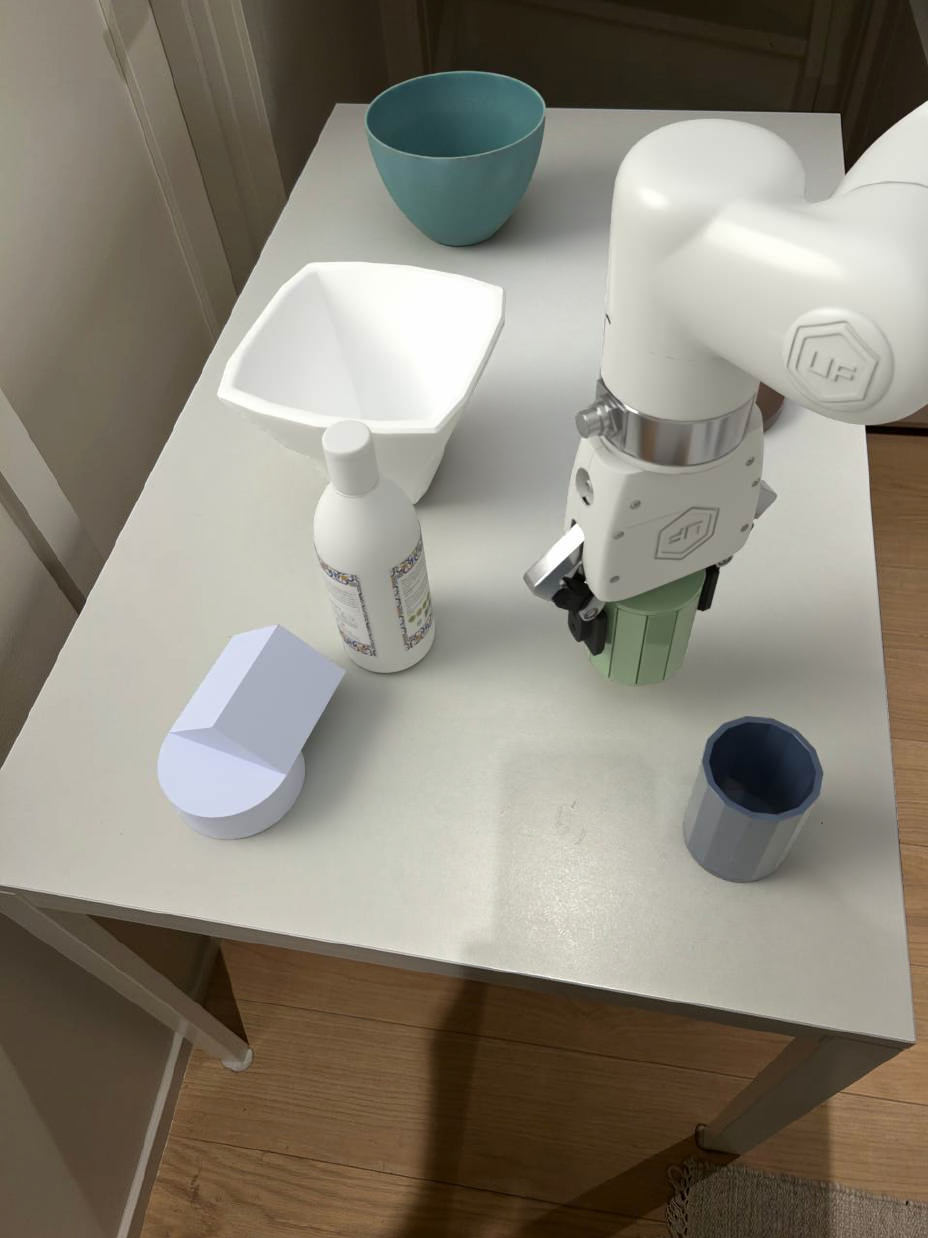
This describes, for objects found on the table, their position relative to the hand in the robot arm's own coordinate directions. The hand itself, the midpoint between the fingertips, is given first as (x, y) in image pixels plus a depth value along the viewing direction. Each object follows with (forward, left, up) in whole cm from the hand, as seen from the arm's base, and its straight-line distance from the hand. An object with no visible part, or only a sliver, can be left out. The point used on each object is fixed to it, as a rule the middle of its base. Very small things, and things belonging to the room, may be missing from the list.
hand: (640, 615), depth 60 cm
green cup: (0, 0, -3) cm, 3 cm away
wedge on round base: (+23, +14, -8) cm, 28 cm away
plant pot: (+33, -52, -8) cm, 62 cm away
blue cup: (-9, +9, -8) cm, 15 cm away
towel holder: (+1, -31, -8) cm, 32 cm away
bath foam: (+18, +2, -8) cm, 20 cm away
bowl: (+25, -14, -8) cm, 30 cm away
